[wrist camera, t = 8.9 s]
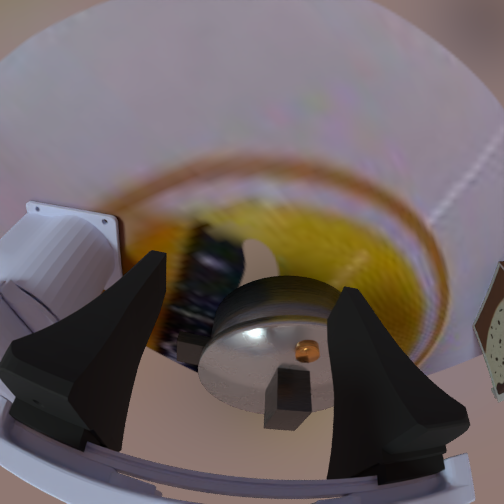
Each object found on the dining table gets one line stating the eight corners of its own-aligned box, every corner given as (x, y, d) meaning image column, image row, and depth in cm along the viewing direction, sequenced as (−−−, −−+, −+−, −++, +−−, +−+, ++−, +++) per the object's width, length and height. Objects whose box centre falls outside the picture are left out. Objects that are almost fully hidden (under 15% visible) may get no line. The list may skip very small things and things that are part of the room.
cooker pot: (185, 350, 31) (176, 390, 27) (192, 255, 23) (176, 302, 19) (344, 373, 32) (348, 410, 28) (400, 294, 24) (417, 337, 20)
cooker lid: (196, 394, 27) (188, 435, 23) (207, 298, 19) (194, 357, 15) (331, 410, 28) (334, 448, 24) (403, 327, 20) (419, 379, 16)
